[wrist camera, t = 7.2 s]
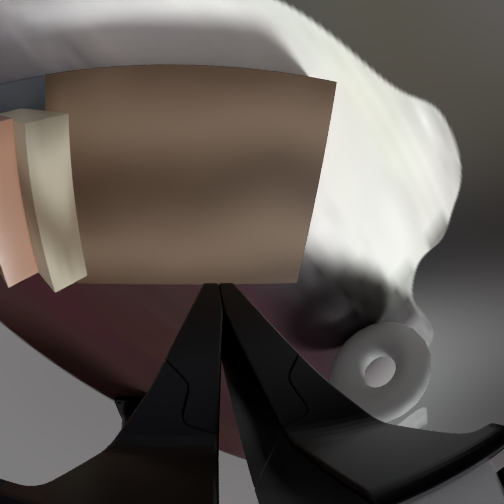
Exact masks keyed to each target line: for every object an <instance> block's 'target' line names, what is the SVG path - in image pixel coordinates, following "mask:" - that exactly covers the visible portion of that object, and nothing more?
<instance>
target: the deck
mask: <svg viewBox="0 0 504 504" xmlns="http://www.w3.org/2000/svg"><path fill="white" fill-rule="evenodd" d="M336 83H337V82H334V81H329V80H324V79H319V78H313V77H308V76H302V75H295V74H289V73H282V72H275V71H267V70H258V69H249V68H238V67H225V66H208V65H131V66H114V67H102V68H92V69H82V70H74V71H67V72H60V73H53V74H47V75H45V111H52V112H60V113H68V114H69V140H70V157H71V169H72V180H73V190H74V198H75V206H76V214H77V221H78V227H79V234H80V240H81V245H82V251H83V256H84V262H85V267H86V271H87V276H86V277H84V278H82V279H80V280H78V281H76V282H74V283H95V284H204V283H217V284H220V283H233V284H269V283H297V280H298V276H299V271H300V267H301V263H302V258H303V254H304V250H305V245H306V241H307V236H308V232H309V227H310V222H311V218H312V213H313V208H314V203H315V198H316V194H317V189H318V184H319V179H320V173H321V168H322V163H323V158H324V153H325V147H326V142H327V136H328V131H329V125H330V119H331V114H332V108H333V102H334V96H335V89H336Z"/></svg>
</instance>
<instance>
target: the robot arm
mask: <svg viewBox="0 0 504 504" xmlns="http://www.w3.org/2000/svg"><path fill="white" fill-rule="evenodd" d="M221 359H222V364H223V369H224V373H225V377H226V381H227V386H228V390H229V394H230V398H231V402H232V406H233V410H234V414H235V418H236V422H237V426H238V430H239V434H240V438H241V441H242V445H243V449H244V453H245V456H246V460H247V463H248V467H249V471H250V474H251V478H252V481H253V484H254V487H255V492H256V495H257V499H258V502H259V504H504V467H503V468H502V469H500V470H499V471H498V472H496V471H495V469H494V467H493V465H492V463H491V461H490V459H491V458H493V457H494V456H495V455H497V454H498V453H499V452H501V451H502V450H503V449H504V425H500V424H495V423H491V424H488V425H486V426H484V427H483V428H481V429H479V430H477V431H474V432H471V433H462V434H456V433H444V432H436V431H428V430H422V429H415V428H409V427H403V426H397V425H392V424H388V423H385V422H383V421H380V420H378V419H377V418H375V417H373V416H372V415H370V414H369V413H367V412H366V411H365V410H363V409H362V408H361V407H360V406H358V405H357V404H356V403H354V402H353V401H352V400H351V399H349V398H348V397H347V396H346V395H344V394H343V393H342V392H341V391H339V390H338V389H337V388H335V387H334V386H333V385H332V384H331V383H330V382H328V381H327V380H326V379H325V378H324V377H323V376H321V375H320V374H319V373H318V372H317V371H316V370H315V369H314V368H313V367H312V366H311V365H310V364H309V363H308V362H307V361H306V360H305V359H304V358H303V357H302V356H301V355H299V353H298V352H297V351H296V350H295V349H294V348H293V347H292V346H291V345H290V343H289V342H288V341H287V340H286V339H285V338H284V337H283V336H282V335H281V334H280V333H279V332H278V331H277V330H276V329H275V328H274V327H273V326H272V324H271V323H270V322H269V321H268V320H267V319H266V318H265V317H264V316H263V315H262V314H261V313H260V312H259V311H258V309H257V308H256V307H255V306H254V305H253V304H252V303H251V302H250V301H249V300H248V299H247V298H246V297H245V295H244V294H243V293H242V292H241V291H240V290H239V289H238V288H237V287H236V286H235V285H234V284H233V283H220V284H219V285H218V284H217V283H204V284H203V286H202V287H201V289H200V291H199V293H198V295H197V297H196V299H195V301H194V303H193V305H192V307H191V309H190V311H189V313H188V315H187V317H186V319H185V321H184V323H183V325H182V327H181V329H180V331H179V333H178V335H177V337H176V339H175V341H174V343H173V345H172V347H171V349H170V351H169V353H168V355H167V357H166V359H165V361H164V362H163V364H162V366H161V368H160V370H159V372H158V374H157V376H156V378H155V380H154V382H153V383H152V385H151V387H150V388H149V390H148V392H147V393H146V395H145V396H144V398H123V397H116V398H115V404H116V406H117V409H118V411H119V413H120V415H121V418H122V429H121V431H120V432H119V434H118V435H117V437H116V438H115V439H114V440H113V442H112V443H111V444H110V445H109V446H108V447H107V448H106V449H105V450H104V451H102V452H101V453H99V454H98V455H96V456H95V457H93V458H91V459H89V460H88V461H86V462H85V463H83V464H81V465H79V466H78V467H76V468H74V469H72V470H71V471H69V472H67V473H65V474H64V475H62V476H60V477H58V478H56V479H55V480H53V481H50V482H48V483H46V484H42V485H37V486H24V485H19V484H15V483H12V482H9V481H6V480H2V479H0V504H219V473H218V472H219V469H218V468H219V465H218V464H219V462H218V456H219V413H220V383H221Z"/></svg>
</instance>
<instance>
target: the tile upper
mask: <svg viewBox="0 0 504 504" xmlns="http://www.w3.org/2000/svg"><path fill="white" fill-rule="evenodd" d="M38 272H39V270H38V267H37V263H36V259H35V255H34V251H33V248H32V243H31V239H30V235H29V231H28V226H27V221H26V216H25V211H24V206H23V201H22V195H21V189H20V182H19V175H18V168H17V159H16V150H15V139H14V125H13V118H11V117H6V116H1V115H0V274H1V275H2V277H3V279H4V281H5V283H6V284H7V286H8V288H9V287H11V286H13V285H15V284H16V283H18V282H20V281H22V280H24V279H26V278H28V277H30V276H32V275H34V274H36V273H38Z"/></svg>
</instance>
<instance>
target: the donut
mask: <svg viewBox="0 0 504 504" xmlns="http://www.w3.org/2000/svg"><path fill="white" fill-rule="evenodd" d="M382 356H387V357H391V358H392V359H393V360H394V361H395V363H396V371H395V374H394V376H393V378H392V379H391V380H390V381H389V382H388V383H387V384H386V385H384V386H381V387H376V388H373V387H370V386H368V385H367V384H366V383H365V380H364V373H365V370H366V368H367V366H368V365H369V364H370V363H371V362H372V361H373V360H374V359H376V358H378V357H382ZM430 375H431V355H430V352H429V350H428V347H427V345H426V343H425V341H424V340H423V339H422V338H421V336H420V335H419V334H418V333H417V332H416V331H415V330H414V329H412V328H410V327H408V326H405V325H403V324H401V323H392V322H382V323H377V324H373V325H369V326H367V327H365V328H363V329H361V330H359V331H357V332H356V333H355V334H354V335H353V336H351V337H350V338H349V339H348V340H347V341H346V342H345V343H344V344H343V346H342V347H341V349H340V350H339V351H338V353H337V355H336V357H335V359H334V362H333V364H332V367H331V376H330V383H331V384H332V385H333V386H334V387H335V388H337V389H338V390H339V391H341V392H342V393H343V394H344V395H346V396H347V397H348V398H349V399H351V400H352V401H353V402H354V403H356V404H357V405H358V406H360V407H361V408H362V409H363V410H365V411H366V412H367V413H369V414H370V415H372V416H373V417H375V418H377V419H378V420H380V421H383V422H388V421H390V420H392V419H395V418H397V417H400V416H402V415H403V414H405V413H406V412H407V411H408V410H410V409H411V408H412V407H413V406H414V405H416V404H417V402H418V401H419V399H420V398H421V396H422V395H423V393H424V392H425V390H426V388H427V385H428V382H429V378H430Z"/></svg>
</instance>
